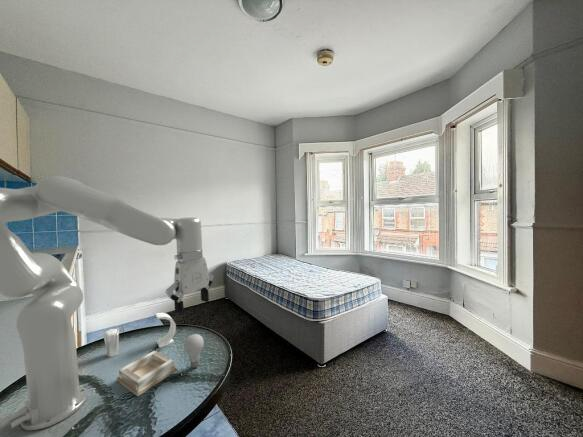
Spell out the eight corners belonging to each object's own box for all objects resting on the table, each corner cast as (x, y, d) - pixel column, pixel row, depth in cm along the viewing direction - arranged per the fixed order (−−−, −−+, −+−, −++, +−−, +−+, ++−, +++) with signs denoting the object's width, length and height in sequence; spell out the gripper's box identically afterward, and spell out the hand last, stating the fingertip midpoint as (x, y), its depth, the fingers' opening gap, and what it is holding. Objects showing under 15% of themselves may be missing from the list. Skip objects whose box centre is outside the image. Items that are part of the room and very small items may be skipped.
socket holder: (137, 396, 67) (137, 384, 67) (116, 381, 73) (116, 370, 73) (176, 370, 78) (176, 360, 77) (155, 358, 84) (154, 349, 83)
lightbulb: (197, 374, 75) (196, 341, 75) (180, 372, 77) (179, 339, 76) (208, 361, 81) (207, 331, 81) (192, 359, 83) (191, 329, 82)
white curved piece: (156, 342, 93) (155, 313, 92) (173, 337, 97) (171, 308, 96) (159, 348, 90) (158, 317, 89) (176, 341, 94) (175, 312, 93)
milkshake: (114, 359, 84) (112, 331, 83) (101, 357, 85) (99, 330, 84) (125, 351, 88) (123, 325, 87) (113, 349, 89) (111, 324, 88)
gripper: (172, 263, 67) (175, 321, 68) (218, 251, 82) (220, 299, 83) (157, 260, 71) (160, 315, 72) (204, 249, 86) (206, 295, 87)
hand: (193, 306), depth 78 cm, fingers open, 9 cm apart
